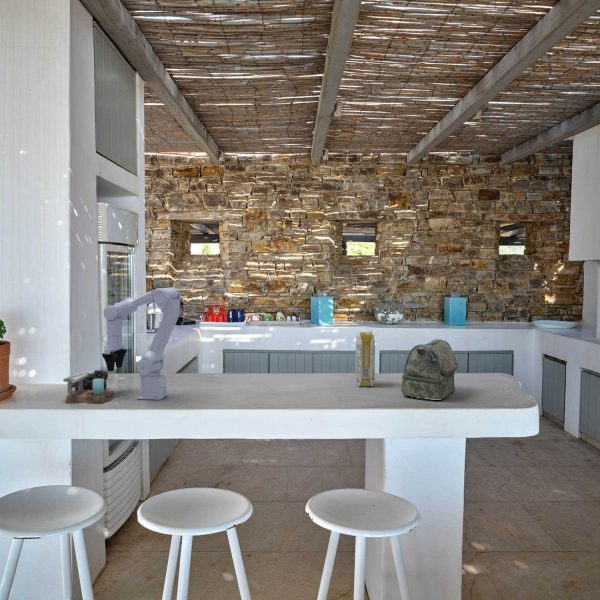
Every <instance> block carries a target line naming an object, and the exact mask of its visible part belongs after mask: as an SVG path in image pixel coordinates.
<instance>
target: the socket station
mask: <svg viewBox="0 0 600 600" xmlns="http://www.w3.org/2000/svg"><path fill="white" fill-rule="evenodd" d="M89 374H90V373H89ZM89 374H87V373H74V374H71V375H70V376H67V377H65V378H63V382H66V383H67V395H66V396H65V399H66V400H65V401H66V402H71V403H70V404H93V405H94V404H95V405H96V404H97V405H103V404H105V403H107V402H110V401H111V400H112V399H114V396H115V392H114V390H104V394H103V395H93V390H83V379H84V378H86V377H89ZM77 381H78V391H74V392H73V388H72V383H75V382H77ZM66 402H65V403H66Z"/></svg>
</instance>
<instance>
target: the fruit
mask: <svg viewBox="0 0 600 600" xmlns="http://www.w3.org/2000/svg"><path fill="white" fill-rule="evenodd" d="M86 374H89V377H86V378H84V379H83V390H93V379H99V378H101V379H104V390H106V388H107V387H108V386H107V385H108V384H107V380H110V379H109V373H108V372H107V371H105V370H101V369H100V370H97V369H95V370H94V372H92V373H89V372H87V373H86ZM72 389H74V392H76V391H78V381H77V382H72Z"/></svg>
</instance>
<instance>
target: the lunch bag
mask: <svg viewBox="0 0 600 600" xmlns="http://www.w3.org/2000/svg"><path fill="white" fill-rule="evenodd" d="M404 363H405V364H404V367H403V374H402V375H401V393H402V395H404V396H405V395H406V397H408V396H413V397H420V398H429V399H442V398H445V397H446V396H447V397H448V396H450V395H451V394H452V393H453V392H455V390H456V386H455V372H456V371H457V370H458V367H459V363H458V361H457V358H456V355H455V353H454V351H453V349H452V346H451V344H449V342H447V341H446V340H443V339H437V338H436V339H432V340H431V341H430V342H428V343H425V344H424V343H423V344H422V343H421V344H420V343H419V344H417V345H415V346H414V347H412V348H411V349H410V351H409V353H408V354H407V356H406V360H405V362H404ZM451 392H452V393H451ZM450 393H451V394H450ZM413 397H412V398H413ZM447 397H446V398H447ZM446 398H445V399H446Z"/></svg>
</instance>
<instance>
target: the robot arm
mask: <svg viewBox="0 0 600 600" xmlns="http://www.w3.org/2000/svg"><path fill="white" fill-rule="evenodd" d="M181 301H182V296H181V294H180V291H179V290H178V289H177V288H176V287H173V286H171V287H163V288H162V287H158V288H156V289H152V290H150V291H148V292H146V293H144V294H142V295H140V296H138V297H136V298H133V297H125V298H124V299H123V300H121V301H119V302H115V303H114V305H107V306H106V307H104V309H103V316H104V319H106V345H105V346H104V349H103V350H104V352H103V353H102V354H101V356H102V358H103V360H104V363H105V365H106V369H107V371H108V372H115V368H117V369H118V368H122V367H123V364H124V359H125V358H126V357H125V356H126V354H127V352H128V349H127V348H126V349H125V343H123V322H124V321H123V320H124V318H125V317H126V316H128V315H130V314H133V313H134V312H136V311H138V308H139V307H140V306H141V307H142V306H143V305H146V304H149V303H151V302H152V303H155V305H156V306H157V307H158V308H159V309H160V310H161V312H162V313H163V316H162V319H161V321H160V323H159V325H158V327H157V330H156V332H155V335H154V337H153V339H152V342H151V344H150V347H149V349H148V350H147V351H146V352H145V353H144V354H143V355H142V357H141V359H140V360H139V361H138V362H137V364H136V370H137V373H138V374H139V376H140V395H139V396H138V397H136V399H137V400H157V401H158V400H159V401H161V400H162V399H164V398H165V397H166V396H168V393H167V389H168V388H167V387H168V386H167V384H168V383H167V381H168V380H167V377H166V375H162V374H161V372H162V369H163V368H164V361H165V359H166V358H165V357H166V356H165V355H164V352H165V349H166V347H167V344H168V343H169V340H170V338H171V336H172V334H173V331H174V329H175V326H176V324H177V321H178V319H179V317H180V312H181V311H180V310H181V309H180V307H181V306H180V305H181V303H180V302H181Z"/></svg>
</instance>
